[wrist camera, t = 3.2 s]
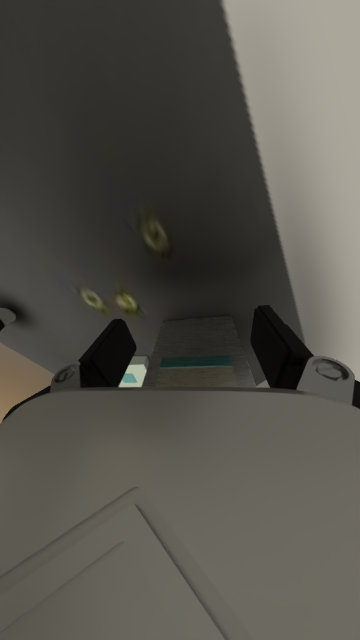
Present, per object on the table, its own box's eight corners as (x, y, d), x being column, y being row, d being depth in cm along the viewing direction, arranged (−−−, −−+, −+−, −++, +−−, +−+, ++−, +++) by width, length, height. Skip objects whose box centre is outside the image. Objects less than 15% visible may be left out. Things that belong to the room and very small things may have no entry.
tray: (91, 358, 29) (85, 366, 28) (146, 355, 27) (143, 364, 25) (115, 390, 36) (112, 398, 34) (161, 390, 34) (160, 399, 32)
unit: (160, 319, 22) (101, 480, 8) (233, 312, 20) (308, 505, 7) (170, 354, 26) (142, 498, 13) (231, 351, 24) (274, 516, 11)
